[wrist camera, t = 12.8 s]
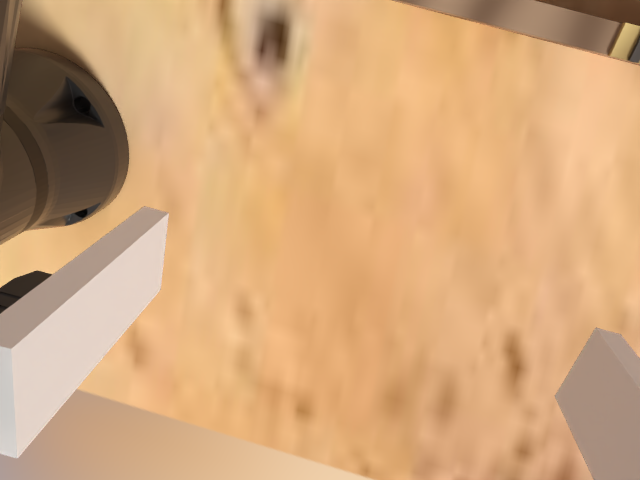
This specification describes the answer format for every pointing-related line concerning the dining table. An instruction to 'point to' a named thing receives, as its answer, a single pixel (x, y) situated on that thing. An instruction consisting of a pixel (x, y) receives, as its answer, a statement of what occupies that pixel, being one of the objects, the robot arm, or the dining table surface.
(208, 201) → the dining table surface
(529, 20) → the frame
